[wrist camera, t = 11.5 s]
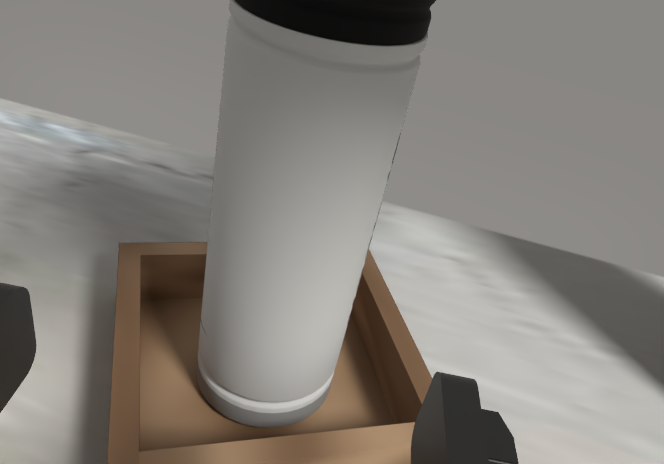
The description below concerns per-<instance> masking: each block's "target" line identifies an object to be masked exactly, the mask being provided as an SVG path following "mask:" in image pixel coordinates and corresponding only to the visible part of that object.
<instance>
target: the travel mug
mask: <svg viewBox="0 0 664 464" xmlns="http://www.w3.org/2000/svg"><path fill="white" fill-rule="evenodd" d="M435 1H436V0H230V3H229V11H230V13H231V15H232V16H231V17H230V18H229V20H228V25H227V36H226V47H225V58H224V69H223V80H222V91H221V103H220V114H219V124H218V135H217V146H216V157H215V168H214V179H213V190H212V201H211V212H210V223H209V234H208V245H207V256H206V267H205V278H204V289H203V300H202V311H201V322H200V334H199V348H198V356H197V367H196V375H197V382H198V385H199V387H200V390H201V392H202V394H203V395H204V397H205V398H206V400H207V401H208V402H209V403H210V404H211V405H212V406H213V407H214V408H215V409H216V410H217V411H218V412H220V413H221V414H223V415H224V416H226V417H228V418H229V419H231V420H234V421H236V422H239V423H241V424H244V425H249V426H253V427H262V428H274V427H283V426H287V425H290V424H294V423H297V422H299V421H301V420H303V419H305V418H307V417H309V416H310V415H311V414H313V413H314V412H315V411H316V410H318V409H319V407H320V406H321V405H322V404H323V402H324V401H325V399H326V397H327V395H328V392H329V390H330V386H331V382H332V379H333V375H334V370H335V367H336V364H337V361H338V357H339V354H340V350H341V347H342V343H343V339H344V336H345V332H346V329H347V325H348V321H349V318H350V314H351V311H352V307H353V303H354V300H355V296H356V293H357V289H358V285H359V282H360V278H361V275H362V271H363V267H364V264H365V260H366V257H367V253H368V250H369V246H370V242H371V239H372V235H373V232H374V228H375V224H376V221H377V217H378V214H379V210H380V206H381V203H382V199H383V196H384V192H385V188H386V185H387V181H388V178H389V174H390V170H391V167H392V163H393V159H394V156H395V152H396V149H397V145H398V141H399V138H400V135H401V131H402V127H403V124H404V120H405V117H406V113H407V109H408V106H409V102H410V99H411V95H412V91H413V88H414V84H415V80H416V77H417V73H418V70H419V66H420V53H421V52H422V51H423V50H424V48H425V45H426V41H427V38H428V33H427V31H428V27H429V24H430V20H431V11H430V10H429V9H430V6H431V5H432V4H433V3H434V2H435Z"/></svg>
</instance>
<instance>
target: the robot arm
mask: <svg viewBox="0 0 664 464" xmlns="http://www.w3.org/2000/svg"><path fill="white" fill-rule="evenodd" d="M35 353H36V338H35V331H34V324H33V316H32V309H31V302H30V295H29V292H28V290H27V289H26V288H24V287H19V286H14V285H9V284H4V283H0V413H1V411H2V410H3V408H4V407H5V406H6V404H7V403H8V401H9V400H10V398H11V397H12V396H13V394H14V393H15V391H16V390H17V389H18V387H19V386H20V384H21V383H22V381H23V380H24V379H25V377H26V376H27V374H28V372H29V370H30V368H31V366H32V363H33V361H34V357H35ZM411 464H518V458H517V453H516V448H515V443H514V438H513V436H512V434H511V432H510V431H509V429H508V427H507V426H506V424H505V423H504V421H503V419H502V418H501V416H500V414H499V413H498V412H494V411H489V410H484V409H481V405H480V398H479V391H478V386H477V382H476V381H475V380H474V379H470V378H465V377H460V376H455V375H450V374H445V373H440V372H436V373H435V375H434V377H433V379H432V381H431V384H430V386H429V389H428V391H427V394H426V396H425V399H424V401H423V404H422V406H421V409H420V411H419V414H418V416H417V419H416V421H415V425H414V429H413V434H412V441H411Z"/></svg>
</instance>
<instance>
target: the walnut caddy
mask: <svg viewBox="0 0 664 464" xmlns="http://www.w3.org/2000/svg"><path fill="white" fill-rule="evenodd" d="M207 245H208V242H187V243H119V256H118V275H117V293H116V312H115V330H114V348H113V367H112V385H111V404H110V422H109V441H108V459H107V464H411V441H412V434H413V429H414V425H415V421H416V419H417V416H418V414H419V411H420V409H421V406H422V404H423V401H424V399H425V396H426V394H427V391H428V389H429V386H430V384H431V381H432V377H431V375H430V373H429V371H428V369H427V367H426V365H425V363H424V361H423V359H422V357H421V355H420V353H419V350H418V348H417V346H416V344H415V342H414V340H413V338H412V336H411V334H410V332H409V330H408V328H407V326H406V324H405V322H404V320H403V318H402V316H401V314H400V312H399V310H398V308H397V306H396V304H395V302H394V299H393V297H392V295H391V293H390V291H389V289H388V287H387V285H386V283H385V281H384V279H383V277H382V275H381V273H380V271H379V269H378V267H377V265H376V263H375V261H374V259H373V257H372V255H371V253H370V251H369V250H368V253H367V257H366V260H365V264H364V267H363V271H362V275H361V278H360V282H359V285H358V289H357V293H356V296H355V300H354V303H353V307H352V311H351V314H350V318H349V321H348V325H347V329H346V332H345V336H344V339H343V343H342V347H341V350H340V354H339V357H338V361H337V364H336V367H335V370H334V375H333V379H332V382H331V386H330V390H329V392H328V395H327V397H326V399H325V401H324V402H323V404H322V405H321V406H320V407H319V409H318V410H316V411H315V412H314V413H313V414H311V415H310V416H309V417H307V418H305V419H303V420H301V421H299V422H297V423H294V424H290V425H287V426H283V427H274V428H262V427H253V426H249V425H244V424H241V423H239V422H236V421H234V420H231V419H229V418H228V417H226V416H224V415H223V414H221V413H220V412H218V411H217V410H216V409H215V408H214V407H213V406H212V405H211V404H210V403H209V402H208V401H207V400H206V398H205V397H204V395H203V394H202V392H201V390H200V387H199V385H198V382H197V375H196V367H197V356H198V348H199V334H200V322H201V311H202V300H203V289H204V278H205V267H206V256H207Z"/></svg>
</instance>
